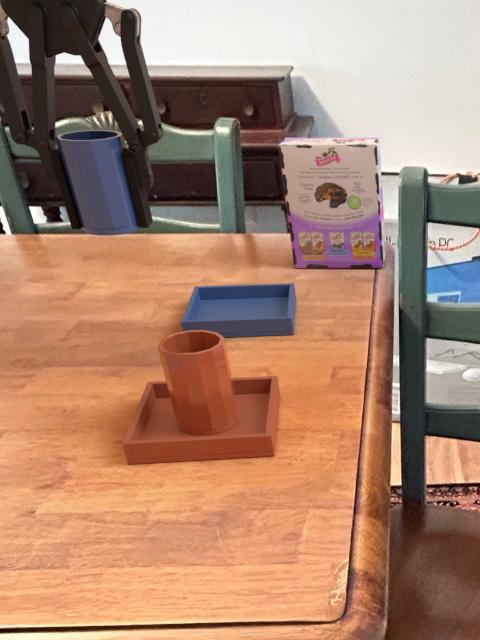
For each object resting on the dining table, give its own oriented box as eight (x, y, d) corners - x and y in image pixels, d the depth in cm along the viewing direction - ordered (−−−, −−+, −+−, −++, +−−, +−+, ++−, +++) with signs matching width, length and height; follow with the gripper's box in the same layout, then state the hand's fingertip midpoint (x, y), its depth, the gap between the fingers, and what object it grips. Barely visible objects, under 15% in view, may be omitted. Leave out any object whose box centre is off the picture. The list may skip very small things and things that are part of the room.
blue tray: (184, 339, 90) (180, 322, 88) (197, 302, 100) (194, 286, 98) (293, 334, 91) (291, 317, 90) (296, 298, 101) (294, 283, 100)
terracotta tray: (128, 464, 67) (121, 444, 66) (152, 400, 77) (147, 381, 76) (274, 456, 69) (271, 435, 67) (280, 394, 79) (277, 375, 77)
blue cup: (76, 236, 72) (48, 141, 67) (91, 220, 76) (65, 130, 71) (137, 235, 72) (114, 140, 67) (149, 219, 77) (127, 129, 72)
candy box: (386, 258, 116) (381, 136, 105) (383, 269, 111) (378, 143, 100) (298, 257, 116) (284, 135, 105) (292, 268, 111) (277, 142, 100)
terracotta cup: (174, 437, 70) (153, 355, 65) (183, 409, 75) (163, 331, 69) (236, 433, 71) (220, 352, 66) (241, 406, 75) (226, 328, 70)
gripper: (-117, -95, 55) (2, 237, 70) (141, -89, 57) (203, 233, 72) (-75, -89, 61) (27, 217, 76) (159, -84, 63) (213, 214, 78)
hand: (113, 224), depth 74 cm, fingers closed on blue cup, 6 cm apart
